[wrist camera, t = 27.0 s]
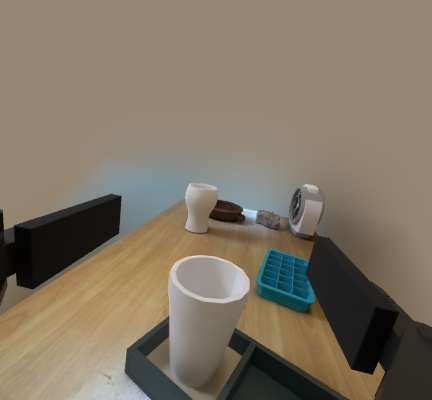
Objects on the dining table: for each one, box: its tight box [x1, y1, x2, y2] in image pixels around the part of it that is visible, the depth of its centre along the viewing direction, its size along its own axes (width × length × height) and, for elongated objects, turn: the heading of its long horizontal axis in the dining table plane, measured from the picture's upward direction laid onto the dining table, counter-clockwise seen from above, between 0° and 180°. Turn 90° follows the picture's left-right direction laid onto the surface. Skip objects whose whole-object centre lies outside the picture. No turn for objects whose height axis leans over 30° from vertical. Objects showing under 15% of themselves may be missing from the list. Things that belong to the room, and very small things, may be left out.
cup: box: [185, 183, 218, 233], centre depth 75 cm, size 11×11×15 cm
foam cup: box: [168, 255, 249, 387], centre depth 28 cm, size 10×9×13 cm
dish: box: [209, 200, 245, 221], centre depth 95 cm, size 17×22×5 cm
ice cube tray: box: [256, 249, 315, 312], centre depth 53 cm, size 12×20×3 cm, turn 159°
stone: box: [256, 210, 280, 229], centre depth 94 cm, size 8×10×6 cm
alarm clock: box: [289, 184, 325, 239], centre depth 90 cm, size 18×8×20 cm, turn 174°
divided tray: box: [125, 317, 349, 400], centre depth 26 cm, size 23×12×4 cm, turn 57°
